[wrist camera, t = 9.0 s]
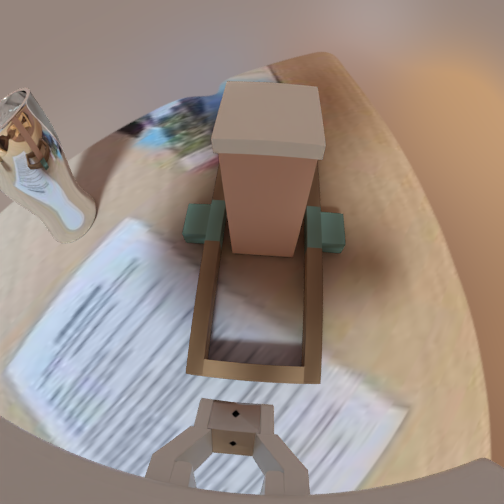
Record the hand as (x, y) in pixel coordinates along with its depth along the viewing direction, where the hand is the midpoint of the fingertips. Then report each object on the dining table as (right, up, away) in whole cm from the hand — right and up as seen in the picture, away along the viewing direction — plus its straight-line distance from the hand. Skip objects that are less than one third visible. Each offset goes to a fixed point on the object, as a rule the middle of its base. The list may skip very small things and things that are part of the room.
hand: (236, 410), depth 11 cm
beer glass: (-18, +10, +16) cm, 26 cm away
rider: (+2, +9, +15) cm, 17 cm away
